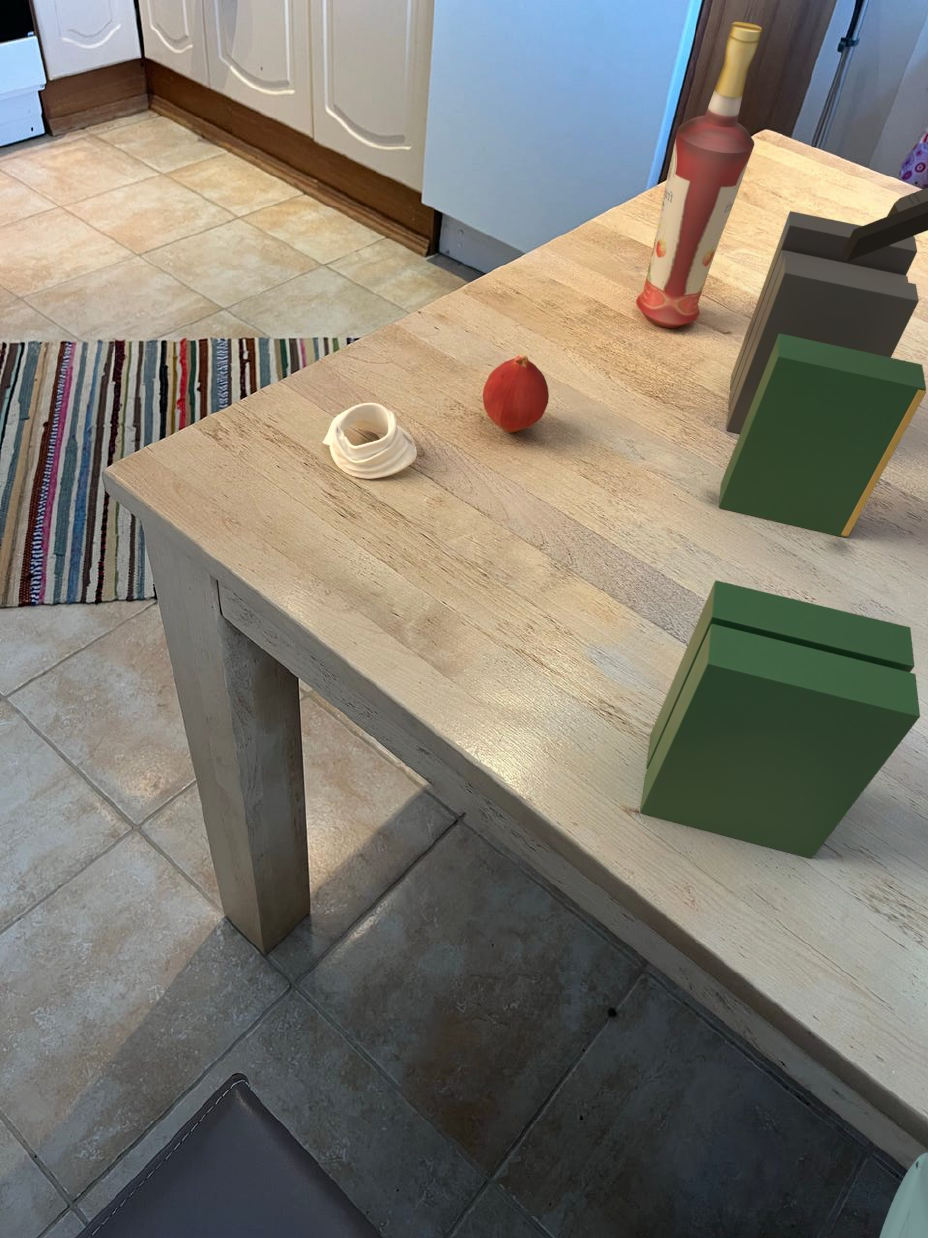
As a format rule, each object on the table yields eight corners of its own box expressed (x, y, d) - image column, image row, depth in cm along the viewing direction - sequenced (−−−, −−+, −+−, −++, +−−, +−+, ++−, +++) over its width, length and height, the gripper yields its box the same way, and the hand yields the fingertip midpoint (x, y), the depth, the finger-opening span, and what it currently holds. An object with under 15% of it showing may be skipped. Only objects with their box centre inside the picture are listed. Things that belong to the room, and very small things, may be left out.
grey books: (842, 457, 89) (924, 289, 76) (725, 430, 90) (788, 260, 77) (839, 399, 96) (914, 235, 83) (731, 375, 97) (789, 210, 84)
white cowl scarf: (426, 459, 84) (436, 412, 80) (393, 496, 79) (402, 448, 76) (346, 425, 85) (352, 377, 82) (309, 460, 80) (314, 411, 77)
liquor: (697, 341, 100) (790, 46, 80) (628, 327, 101) (704, 31, 80) (699, 307, 105) (787, 21, 85) (634, 294, 106) (706, 7, 85)
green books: (811, 859, 59) (920, 716, 48) (639, 813, 60) (707, 663, 49) (811, 775, 64) (910, 626, 53) (650, 733, 65) (715, 579, 54)
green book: (847, 538, 81) (928, 389, 70) (718, 508, 82) (778, 356, 71) (845, 512, 83) (923, 364, 72) (720, 483, 84) (778, 332, 73)
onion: (474, 410, 88) (485, 333, 82) (535, 411, 89) (549, 335, 83) (482, 449, 84) (493, 372, 78) (546, 450, 85) (561, 373, 79)
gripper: (1269, 409, 61) (955, 526, 62) (1089, 94, 66) (800, 207, 67) (1365, 358, 54) (1008, 492, 55) (1155, 8, 59) (830, 136, 59)
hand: (893, 335), depth 61 cm, fingers open, 13 cm apart
